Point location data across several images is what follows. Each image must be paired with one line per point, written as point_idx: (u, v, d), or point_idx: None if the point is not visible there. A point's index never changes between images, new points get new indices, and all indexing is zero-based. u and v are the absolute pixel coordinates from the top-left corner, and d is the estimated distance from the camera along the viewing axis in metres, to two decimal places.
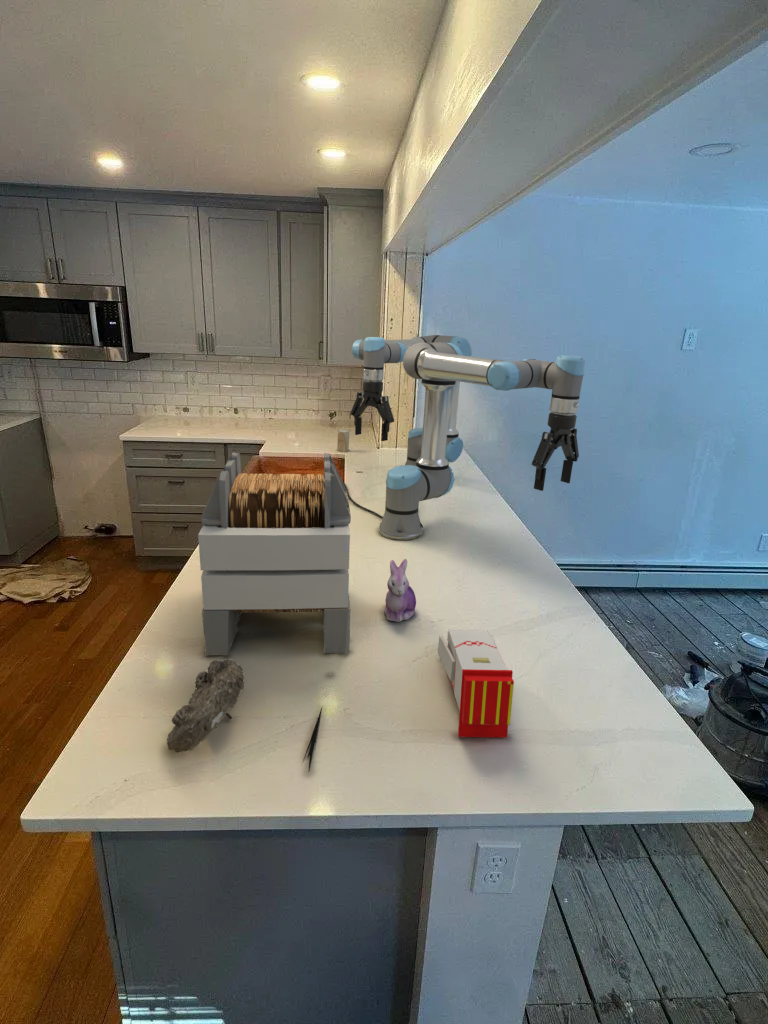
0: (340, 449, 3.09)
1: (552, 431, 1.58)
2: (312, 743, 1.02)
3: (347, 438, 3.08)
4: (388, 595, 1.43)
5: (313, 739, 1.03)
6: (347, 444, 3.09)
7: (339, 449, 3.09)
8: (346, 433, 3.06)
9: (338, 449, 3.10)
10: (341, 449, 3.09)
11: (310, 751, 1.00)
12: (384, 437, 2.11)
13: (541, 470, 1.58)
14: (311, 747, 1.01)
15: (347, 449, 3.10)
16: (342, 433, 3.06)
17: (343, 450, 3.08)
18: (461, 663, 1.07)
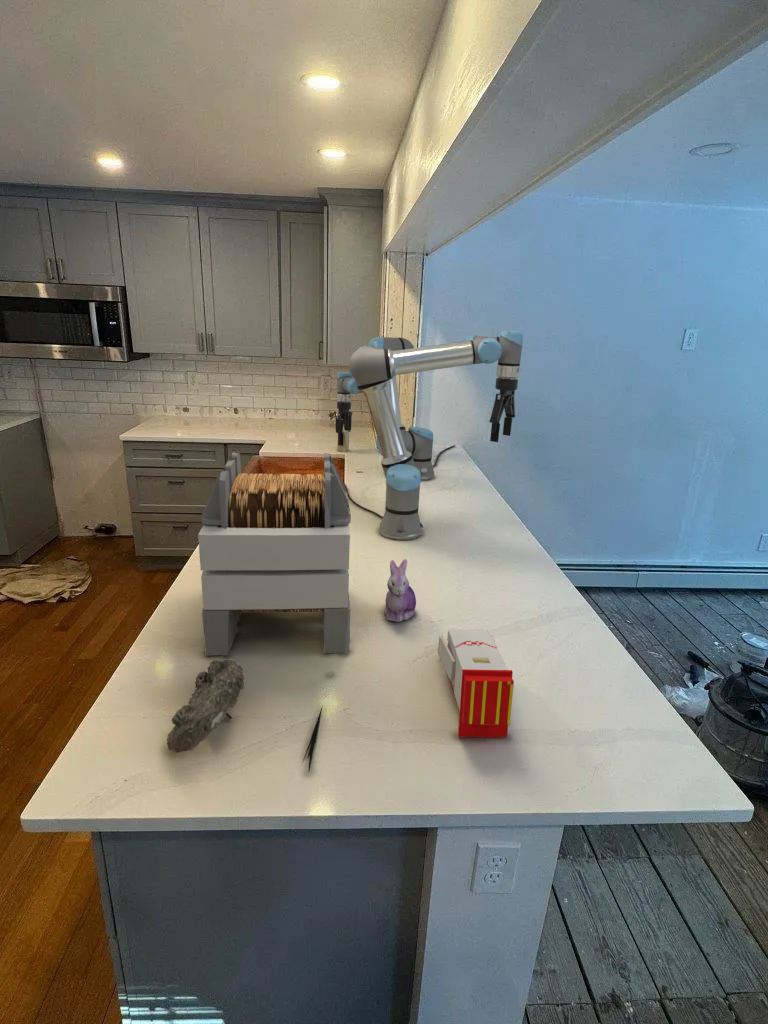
0: (340, 449, 3.09)
1: (501, 393, 1.95)
2: (312, 743, 1.02)
3: (347, 438, 3.08)
4: (388, 595, 1.43)
5: (313, 739, 1.03)
6: (347, 444, 3.09)
7: (339, 449, 3.09)
8: (346, 433, 3.06)
9: (338, 449, 3.10)
10: (341, 449, 3.09)
11: (310, 751, 1.00)
12: None
13: (497, 425, 1.95)
14: (311, 747, 1.01)
15: (347, 449, 3.10)
16: (342, 433, 3.06)
17: (343, 450, 3.08)
18: (461, 663, 1.07)
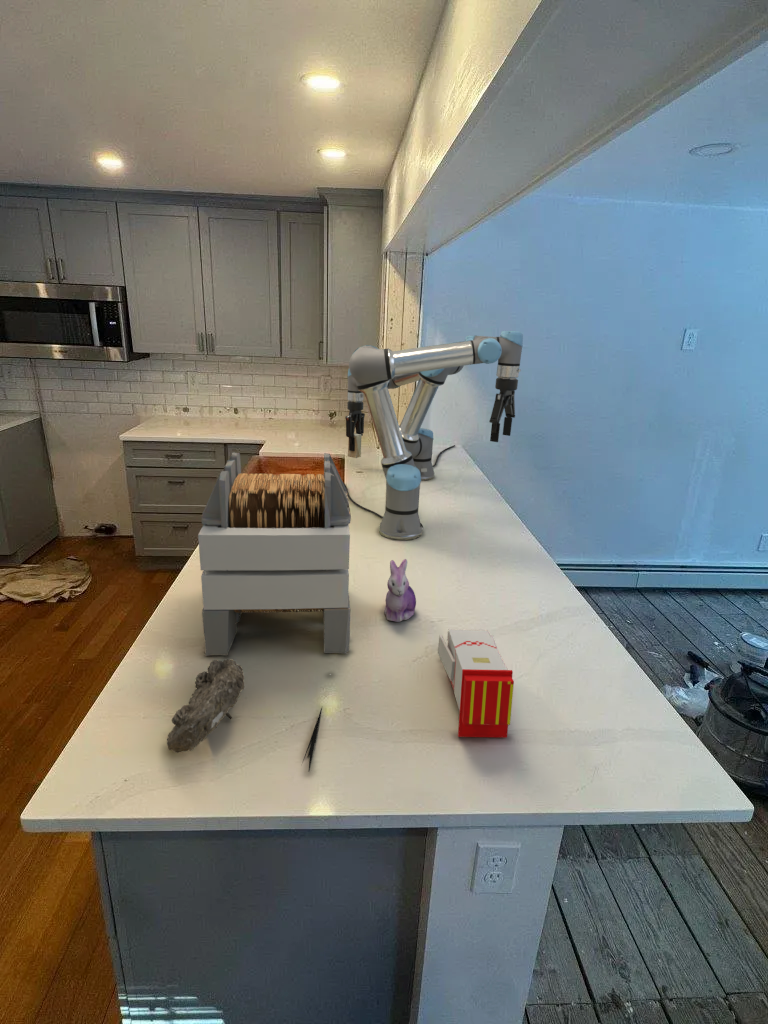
0: (351, 455, 2.74)
1: (501, 393, 1.95)
2: (312, 743, 1.02)
3: (359, 442, 2.73)
4: (388, 595, 1.43)
5: (313, 739, 1.03)
6: (359, 449, 2.74)
7: (350, 455, 2.74)
8: (358, 437, 2.71)
9: (349, 455, 2.75)
10: (352, 455, 2.74)
11: (310, 751, 1.00)
12: None
13: (497, 425, 1.95)
14: (311, 747, 1.01)
15: (359, 455, 2.75)
16: None
17: (354, 456, 2.73)
18: (461, 663, 1.07)
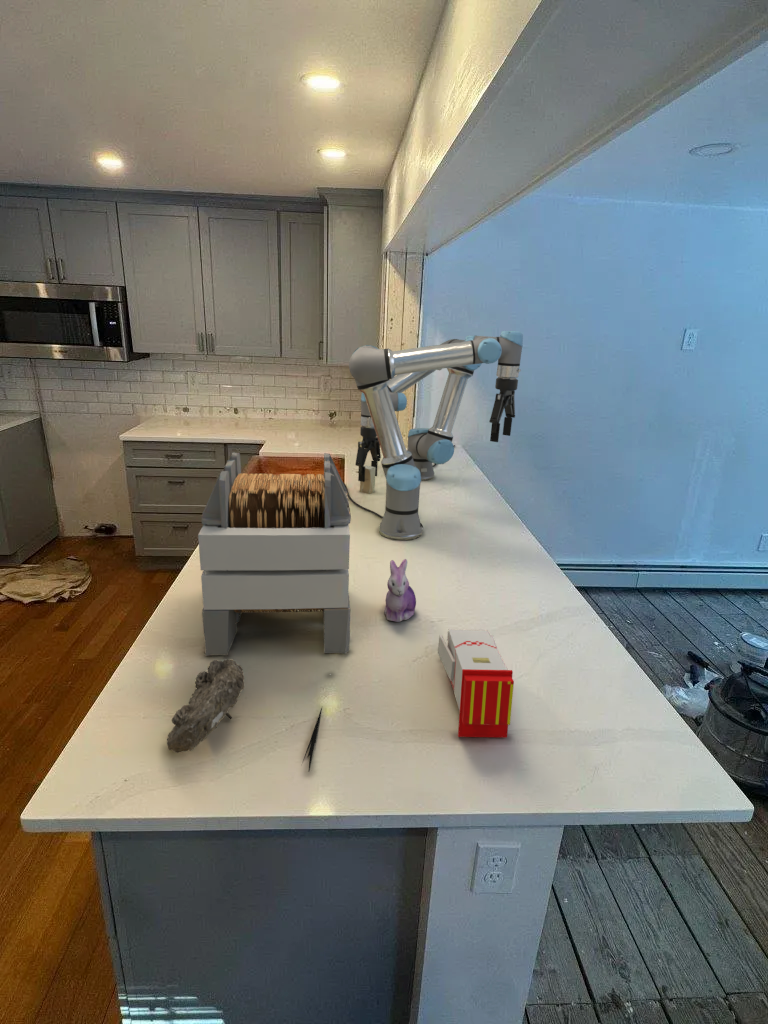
0: (364, 490, 2.42)
1: (501, 393, 1.95)
2: (312, 743, 1.02)
3: (373, 476, 2.41)
4: (388, 595, 1.43)
5: (313, 739, 1.03)
6: (372, 484, 2.42)
7: (362, 490, 2.42)
8: (372, 470, 2.39)
9: (361, 490, 2.43)
10: (365, 490, 2.42)
11: (310, 751, 1.00)
12: None
13: (497, 425, 1.95)
14: (311, 747, 1.01)
15: (372, 490, 2.43)
16: (366, 470, 2.38)
17: (367, 491, 2.41)
18: (461, 663, 1.07)
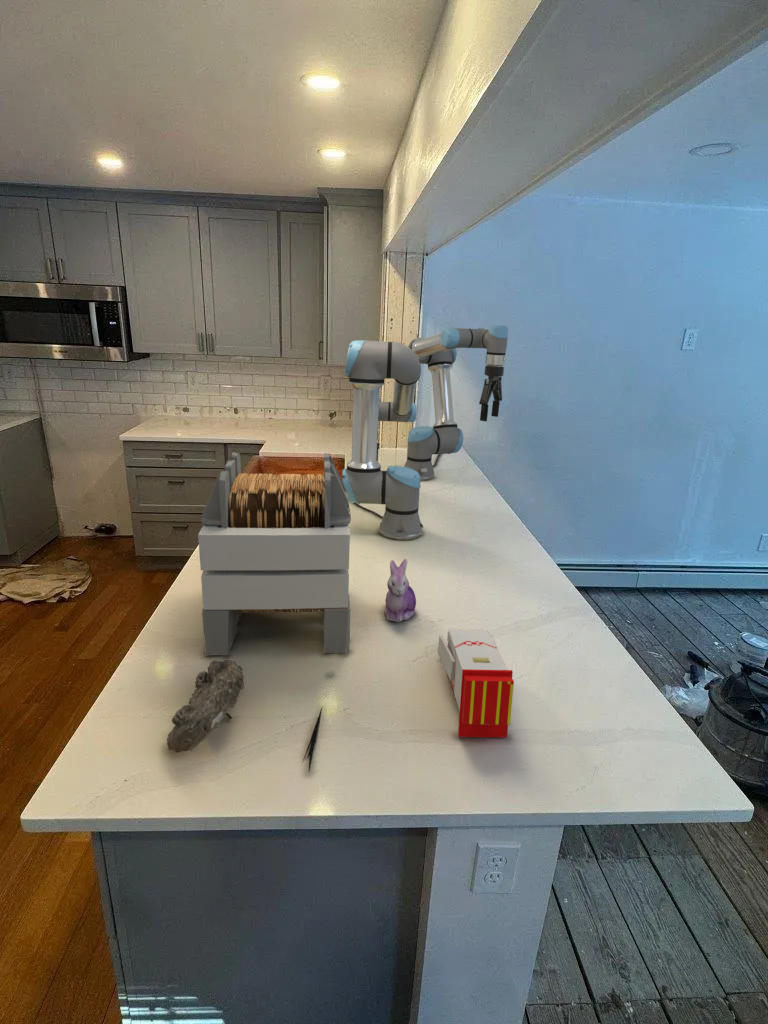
0: None
1: None
2: (312, 743, 1.02)
3: None
4: (388, 595, 1.43)
5: (313, 739, 1.03)
6: None
7: None
8: None
9: None
10: None
11: (310, 751, 1.00)
12: None
13: None
14: (311, 747, 1.01)
15: None
16: None
17: None
18: (461, 663, 1.07)
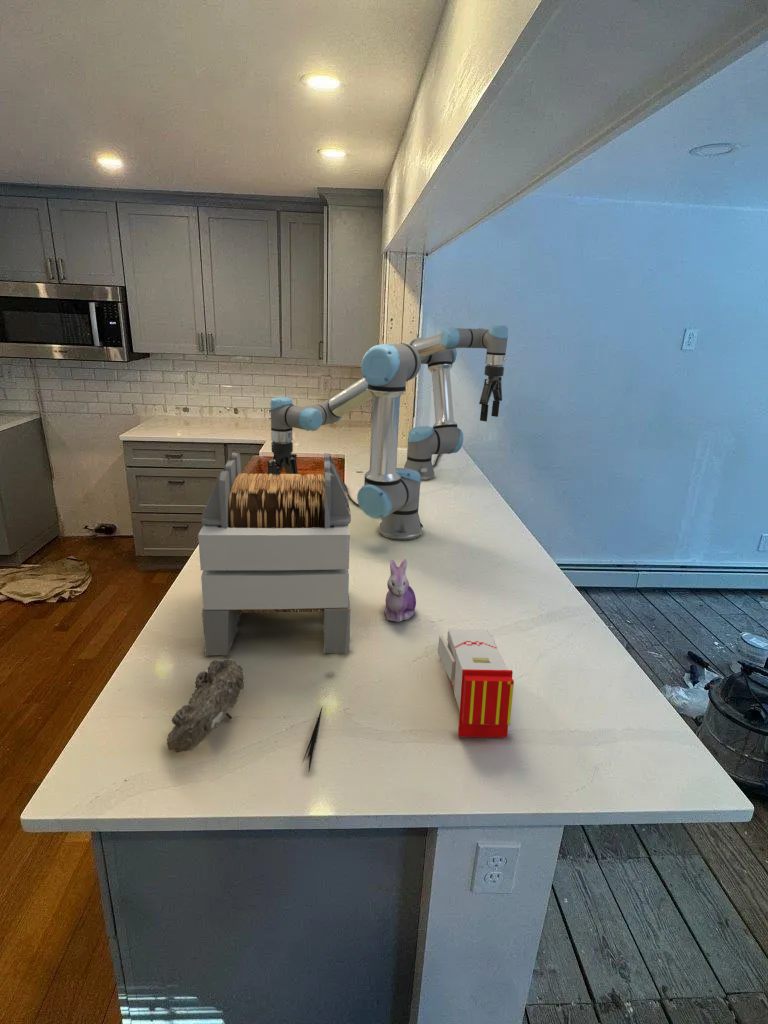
0: None
1: (275, 456, 2.01)
2: (312, 743, 1.02)
3: None
4: (388, 595, 1.43)
5: (313, 739, 1.03)
6: None
7: None
8: None
9: None
10: None
11: (310, 751, 1.00)
12: None
13: None
14: (311, 747, 1.01)
15: None
16: None
17: None
18: (461, 663, 1.07)
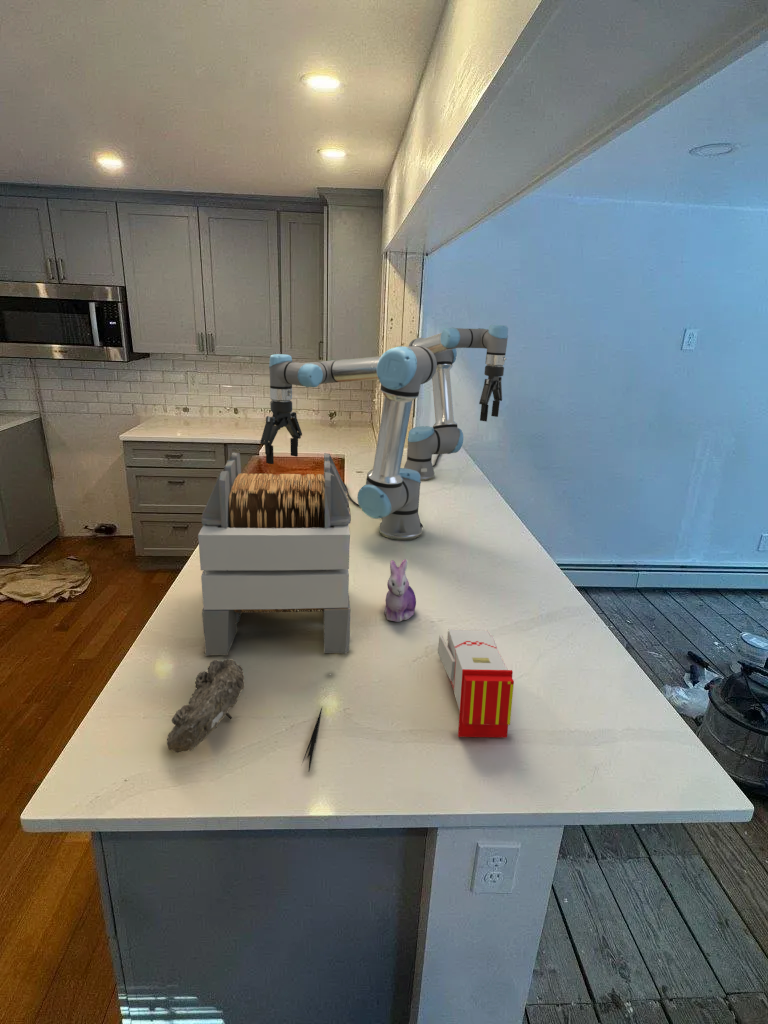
0: None
1: (274, 415, 1.96)
2: (312, 743, 1.02)
3: None
4: (388, 595, 1.43)
5: (313, 739, 1.03)
6: None
7: None
8: None
9: None
10: None
11: (310, 751, 1.00)
12: None
13: (269, 447, 1.96)
14: (311, 747, 1.01)
15: None
16: None
17: None
18: (461, 663, 1.07)
